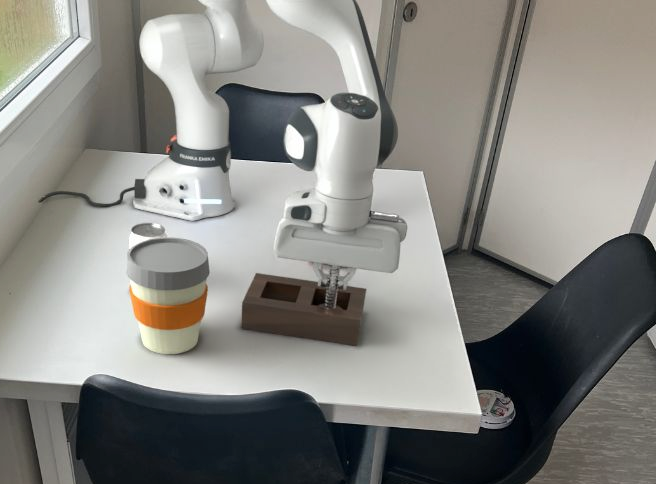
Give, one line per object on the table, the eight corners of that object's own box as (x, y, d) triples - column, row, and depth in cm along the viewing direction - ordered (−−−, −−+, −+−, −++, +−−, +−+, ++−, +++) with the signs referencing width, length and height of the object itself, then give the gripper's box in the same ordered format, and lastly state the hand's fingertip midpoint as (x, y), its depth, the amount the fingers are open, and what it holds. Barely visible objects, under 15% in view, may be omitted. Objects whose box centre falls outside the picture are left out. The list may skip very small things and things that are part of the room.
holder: (356, 346, 119) (360, 319, 117) (240, 328, 122) (242, 302, 119) (362, 313, 128) (366, 288, 125) (254, 297, 131) (255, 272, 128)
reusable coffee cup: (142, 366, 111) (137, 278, 102) (122, 326, 120) (116, 242, 111) (220, 352, 115) (221, 266, 107) (194, 314, 125) (194, 232, 116)
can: (139, 303, 126) (136, 239, 119) (127, 287, 131) (123, 224, 124) (174, 297, 129) (173, 234, 122) (161, 281, 134) (159, 219, 127)
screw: (331, 311, 127) (348, 324, 124) (308, 318, 125) (325, 331, 121) (339, 242, 119) (357, 254, 116) (315, 248, 117) (333, 260, 114)
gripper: (410, 208, 114) (396, 287, 122) (281, 192, 116) (276, 270, 124) (408, 224, 109) (394, 305, 117) (274, 206, 111) (269, 287, 119)
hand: (332, 287), depth 120 cm, fingers closed on screw, 2 cm apart
